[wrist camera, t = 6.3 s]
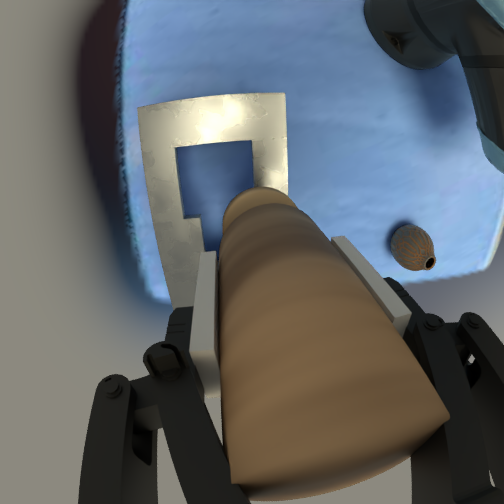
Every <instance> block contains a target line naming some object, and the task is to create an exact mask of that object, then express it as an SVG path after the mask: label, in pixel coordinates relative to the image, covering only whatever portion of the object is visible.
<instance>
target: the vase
mask: <svg viewBox="0 0 504 504" xmlns="http://www.w3.org/2000/svg"><path fill="white" fill-rule="evenodd" d="M391 252H392V254H393V257H394V258H395V260H396V261H397V262H398V263H399V264H400V265H401V266H402V267H404V268H406V269H408V270H411V271H419V270H430V269H432V268H433V267H434V265H435V263H436V258H435V255H434V245H433V242H432V240H431V238H430V236H429V235H428V234H427V233H426V232H425V231H424V230H423V229H421V228H420V227H418V226H415V225H404V226H402V227H400V228H399V229H397V230H396V231H395V233H394V234H393V236H392V239H391Z"/></svg>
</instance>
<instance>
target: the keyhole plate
mask: <svg viewBox="0 0 504 504" xmlns="http://www.w3.org/2000/svg"><path fill="white" fill-rule="evenodd" d="M137 111H138V122H139V132H140V142H141V150H142V158H143V165H144V172H145V179H146V186H147V192H148V198H149V204H150V209H151V215H152V220H153V225H154V230H155V235H156V240H157V245H158V249H159V254H160V258H161V263H162V267H163V271H164V275H165V279H166V283H167V287H168V291H169V295H170V299H171V303H172V306H173V310H175V308H178V307H189V306H194V301H195V293H196V285H197V277H198V270H199V262H200V255H201V252H206V249H205V242H204V234H203V227H202V219H201V214H195V215H186V216H185V212H184V204H183V197H182V190H181V182H180V174H179V165H178V156H177V147H181V146H189V145H197V144H207V143H217V142H228V141H242V140H251V145H252V163H253V183H254V187H271V188H275V189H277V190H279V191H281V192H283V193H284V194H286V195H287V196H288V165H287V129H286V104H285V93H247V94H230V95H217V96H207V97H198V98H190V99H183V100H176V101H170V102H164V103H158V104H153V105H147V106H143V107H138V108H137ZM218 267H219V261H218Z"/></svg>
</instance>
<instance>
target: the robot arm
mask: <svg viewBox="0 0 504 504" xmlns="http://www.w3.org/2000/svg"><path fill="white" fill-rule="evenodd" d="M364 13H365V18H366V22H367V24H368V27H369V29H370V31H371V33H372V35H373V36H374V38H375V39H376V41H377V42H378V44H379V45H380V46H381V47H382V48H383V49H384V50H385V52H386V53H388V54H389V55H390V56H391V57H392V58H393V59H395V60H396V61H398V62H399V63H401V64H403V65H405V66H407V67H409V68H413V69H419V70H422V69H431V68H435V67H437V66H439V65H441V64H442V63H443V62H445V61H446V60H448V59H449V58H451V57H452V56H454V55H457V54H458V56H459V58H460V61H461V64H462V67H463V70H464V73H465V76H466V79H467V83H468V86H469V90H470V93H471V97H472V101H473V105H474V109H475V114H476V118H477V122H476V125H477V129H478V131H479V133H480V137H481V142H482V147H483V151H484V154H485V156H486V158H487V159H488V160H489V161H490V163H491V164H493V165H494V167H495V168H496V169H498V170H499V171H500V172H502V173H504V0H366V1H365V5H364ZM331 243H332V244H333V246H334V247H335V248H336V249H337V251H338V252H339V253H340V254H341V256H342V257H343V258H344V259H345V261H346V262H347V263H348V265H349V266H350V267H351V268H352V270H353V271H354V272H355V274H356V275H357V276H358V277H359V279H360V280H361V281H362V283H363V284H364V285H365V287H366V288H367V289H368V291H369V292H370V293H371V295H372V296H373V297H374V299H375V300H376V302H377V303H378V304H379V306H380V307H381V308H382V310H383V311H384V313H385V314H386V315H387V317H388V318H389V320H390V321H391V323H392V324H393V325H394V327H395V328H396V330H397V331H398V333H399V334H400V336H401V337H402V338H403V340H404V341H405V343H406V344H407V346H408V347H409V349H410V350H411V352H412V353H413V355H414V357H415V358H416V360H417V361H418V363H419V364H420V366H421V367H422V369H423V371H424V372H425V374H426V375H427V377H428V379H429V380H430V382H431V383H432V385H433V387H434V388H435V390H436V392H437V393H438V395H439V397H440V398H441V400H442V402H443V404H444V405H445V407H446V409H447V411H448V412H449V414H450V419H449V420H448V421H446V422H444V423H443V424H442V425H441V426H440V427H439V429H438V430H437V431H436V432H435V433H434V434H433V435H432V436H431V437H430V438H429V439H428V440H427V441H426V442H425V443H424V444H422V445H421V446H420V447H419V448H418V449H417V450H416V451H415V452H414V453H413V454H412V455H410V456H411V473H412V504H504V345H503V343H502V342H501V341H500V340H499V338H498V337H497V336H496V334H495V333H494V332H493V331H492V329H491V328H490V327H489V326H488V325H487V323H486V322H485V321H484V320H483V319H482V318H481V317H480V316H479V315H477V314H475V313H471V312H466V313H464V314H462V316H461V318H460V320H459V322H455V323H445V322H444V321H443V319H442V318H440V317H439V316H437V315H434V314H429V313H427V314H426V313H425V312H424V311H423V310H422V309H421V307H420V306H419V305H418V304H417V303H416V302H415V300H414V299H413V298H412V297H411V296H409V294H408V292H407V291H406V290H404V288H403V287H402V286H401V285H400V283H399V282H397V281H395V280H394V279H392V278H390V277H387V278H382V277H381V276H380V274H379V273H378V272H377V271H376V270H375V269H374V268H373V266H372V265H371V264H370V263H369V262H368V261H367V260H366V259H365V258H364V256H363V255H362V254H361V253H360V252H359V251H358V250H357V249H356V248H355V247H354V246H353V244H352V243H351V242H350V241H349V240H348V239H347V238H346V237H345V236H338V237H331ZM471 354H472V355H473V356H474V358H475V360H474V361H473V363H470V362H469V361H468V359H469V358H470V356H471ZM143 362H144V364H145V366H146V368H147V370H148V372H149V374H150V375H148V376H145V377H142V378H139V379H135V380H132V381H129V380H128V379H127V378H126V377H124V376H123V375H118V374H114V375H109V376H107V377H106V378H104V379H103V380H102V381H101V382H100V383H99V384H98V386H97V389H96V392H95V396H94V401H93V405H92V410H91V415H90V419H89V424H88V430H87V435H86V441H85V447H84V453H83V460H82V468H81V476H80V486H79V499H78V504H158V494H157V493H158V491H157V433H158V429H159V428H163V430H164V433H165V437H166V440H167V444H168V447H169V451H170V454H171V458H172V461H173V464H174V467H175V470H176V473H177V476H178V479H179V482H180V485H181V487H182V490H183V493H184V496H185V498H186V501H187V504H251V503H250V501H249V499H248V497H247V496H246V495H245V493H244V492H243V490H242V489H241V487H240V486H239V484H238V483H237V484H231V472H230V466H229V464H228V462H227V459H226V457H225V454H224V451H223V445H222V443H221V441H220V439H219V437H218V434H217V432H216V429H215V427H214V425H213V422H212V420H211V417H210V415H209V412H208V410H207V407H206V405H205V403H204V392H205V395H206V397H207V398H217V397H221V392H220V355H219V267H218V261H217V255H216V251H210V252H201V255H200V262H199V270H198V277H197V285H196V293H195V301H194V306H189V307H178V308H175V310H174V311H173V313H172V314H171V315H170V317H169V322H168V327H167V334H166V337H165V341H162V342H158V343H156V344H153V345H152V346H151V347H149V348H148V349H147V350H146V352H145V354H144V356H143ZM489 470H490V473H491V476H492V479H493V481H494V484H495V487H493V486H492V485H491V482H490V476H489Z"/></svg>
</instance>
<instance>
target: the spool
mask: <svg viewBox="0 0 504 504" xmlns="http://www.w3.org/2000/svg"><path fill="white" fill-rule="evenodd" d="M219 355H220V392H221V418H222V438H223V451H224V454H225V457H226V459H227V462H228V464H229V466H230V472H231V484H237V483H238V484H239V486H240V487H241V489H242V490H243V492H244V493H245V495H246V496H247V497H248V499H249V500H251V501H283V500H293V499H299V498H306V497H311V496H316V495H321V494H325V493H329V492H333V491H336V490H340V489H343V488H346V487H349V486H352V485H355V484H357V483H360V482H362V481H365V480H367V479H370V478H372V477H374V476H376V475H379V474H381V473H383V472H385V471H387V470H389V469H391V468H393V467H394V466H396V465H398V464H400V463H401V462H403V461H405V460H406V459H408V458H409V457H411V456H410V455H412V454H413V453H414V452H415V451H416V450H417V449H418V448H419V447H420V446H421V445H422V444H424V443H425V442H426V441H427V440H428V439H429V438H430V437H431V436H432V435H433V434H434V433H435V432H436V431H437V430H438V429H439V427H440V426H441V425H442V424H443V423H444V422H446V421H448V420H449V419H450V414H449V412H448V411H447V409H446V407H445V405H444V404H443V402H442V400H441V398H440V397H439V395H438V393H437V392H436V390H435V388H434V387H433V385H432V383H431V382H430V380H429V379H428V377H427V375H426V374H425V372H424V371H423V369H422V367H421V366H420V364H419V363H418V361H417V360H416V358H415V357H414V355H413V353H412V352H411V350H410V349H409V347H408V346H407V344H406V343H405V341H404V340H403V338H402V337H401V336H400V334H399V333H398V331H397V330H396V328H395V327H394V325H393V324H392V323H391V321H390V320H389V318H388V317H387V315H386V314H385V313H384V311H383V310H382V308H381V307H380V306H379V304H378V303H377V302H376V300H375V299H374V297H373V296H372V295H371V293H370V292H369V291H368V289H367V288H366V287H365V285H364V284H363V283H362V281H361V280H360V279H359V277H358V276H357V275H356V274H355V272H354V271H353V270H352V268H351V267H350V266H349V265H348V263H347V262H346V261H345V259H344V258H343V257H342V256H341V254H340V253H339V252H338V251H337V249H336V248H335V247H334V246H333V244H332V243H331V242H330V241H329V239H328V238H327V237H326V236H325V235H324V233H323V232H322V231H321V230H320V229H319V227H318V226H317V225H316V224H315V223H314V221H313V220H312V219H311V218H310V217H309V216H308V215H307V214H305V213H304V212H303V211H301V210H299V209H298V208H297V206H296V205H295V204H294V203H293V201H292V200H291V199H290V198H289V197H288V196H287V195H286V194H284V193H283V192H281V191H279V190H277V189H275V188H271V187H254V188H250V189H247V190H245V191H243V192H241V193H240V194H238V195H237V196H236V197H234V199H233V200H232V201H231V202H230V203H229V205H228V206H227V208H226V210H225V213H224V216H223V237H222V240H221V243H220V249H219Z"/></svg>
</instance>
